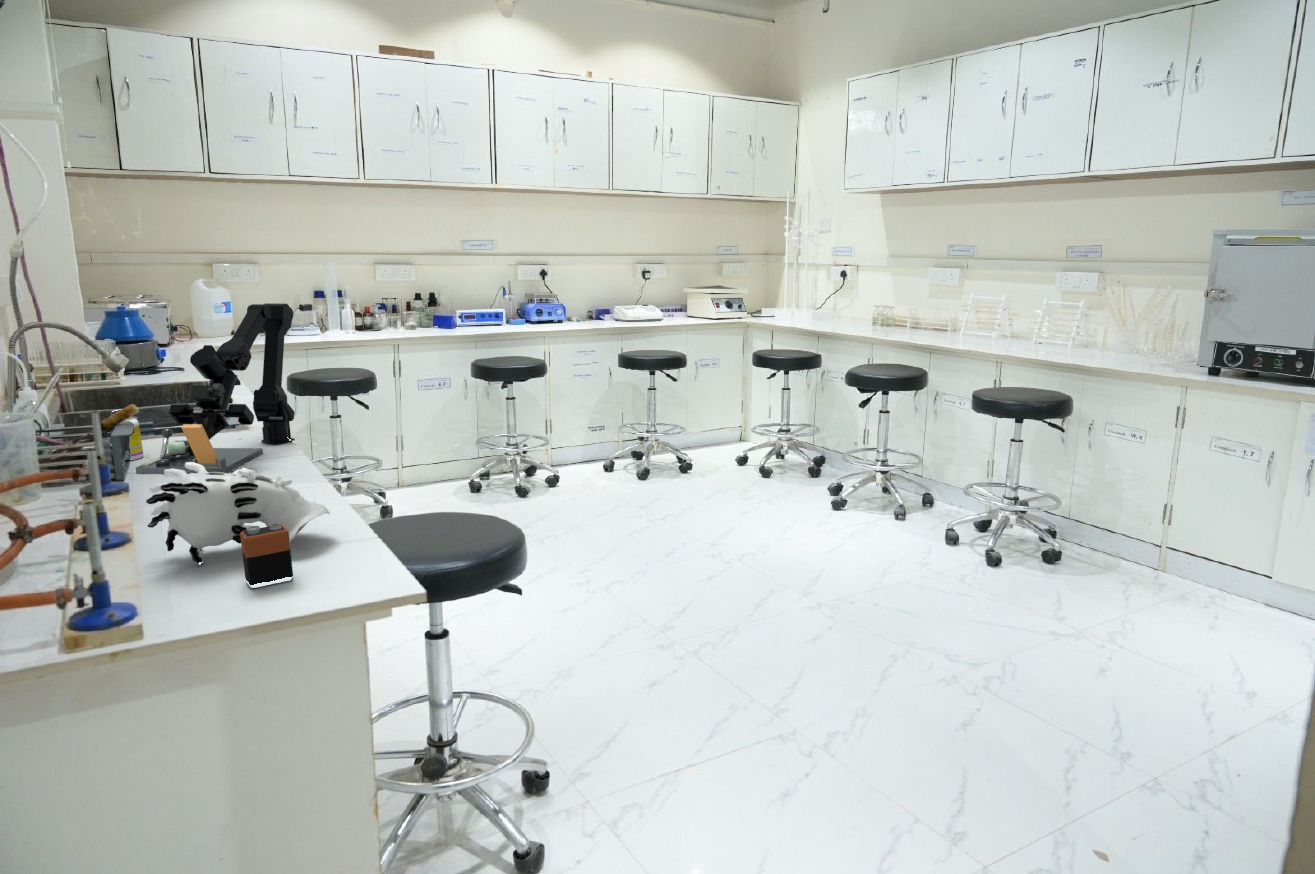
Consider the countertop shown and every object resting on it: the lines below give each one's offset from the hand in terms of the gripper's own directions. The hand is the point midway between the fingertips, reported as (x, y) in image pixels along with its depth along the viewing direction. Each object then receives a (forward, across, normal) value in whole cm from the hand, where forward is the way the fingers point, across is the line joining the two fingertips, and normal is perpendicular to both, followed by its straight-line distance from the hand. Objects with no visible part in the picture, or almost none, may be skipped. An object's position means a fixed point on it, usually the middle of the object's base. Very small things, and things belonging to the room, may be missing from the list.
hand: (201, 443), depth 202 cm
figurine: (+41, +34, -30) cm, 61 cm away
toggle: (+1, -13, +7) cm, 15 cm away
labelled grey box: (-10, -13, +15) cm, 22 cm away
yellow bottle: (-5, -29, +17) cm, 34 cm away
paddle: (+2, 0, +6) cm, 6 cm away
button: (-4, -13, +12) cm, 18 cm away
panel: (-2, -7, +14) cm, 16 cm away
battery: (+51, +45, -40) cm, 79 cm away
